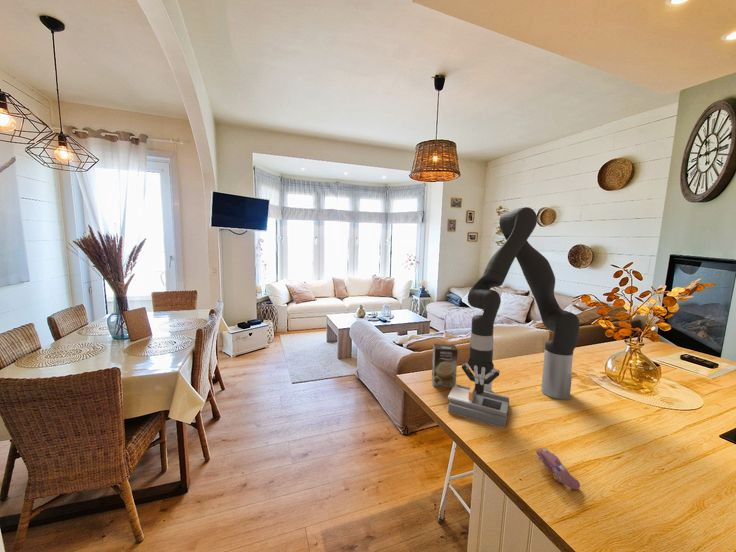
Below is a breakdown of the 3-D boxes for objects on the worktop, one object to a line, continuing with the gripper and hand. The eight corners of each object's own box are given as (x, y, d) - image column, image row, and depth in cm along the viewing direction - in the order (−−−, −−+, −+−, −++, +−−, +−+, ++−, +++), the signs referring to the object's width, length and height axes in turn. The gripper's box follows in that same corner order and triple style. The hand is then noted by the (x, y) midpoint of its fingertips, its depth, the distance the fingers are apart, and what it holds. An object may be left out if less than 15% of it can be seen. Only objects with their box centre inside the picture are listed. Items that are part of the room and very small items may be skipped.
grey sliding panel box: (508, 405, 108) (509, 394, 107) (504, 428, 95) (505, 416, 94) (458, 392, 116) (458, 382, 116) (448, 412, 103) (448, 400, 103)
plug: (491, 390, 118) (493, 366, 117) (490, 395, 115) (491, 370, 114) (479, 387, 120) (481, 364, 119) (478, 392, 117) (479, 367, 116)
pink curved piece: (539, 467, 81) (530, 446, 80) (553, 459, 81) (545, 438, 80) (567, 498, 71) (557, 475, 70) (583, 489, 71) (573, 466, 70)
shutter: (475, 393, 110) (476, 383, 110) (471, 405, 102) (471, 394, 102) (453, 387, 114) (454, 378, 113) (447, 398, 106) (448, 388, 106)
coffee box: (433, 386, 121) (434, 348, 119) (431, 379, 127) (432, 343, 125) (456, 388, 120) (457, 349, 118) (453, 380, 126) (454, 344, 124)
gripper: (503, 345, 103) (500, 393, 105) (464, 339, 109) (462, 384, 111) (501, 353, 96) (498, 403, 98) (459, 345, 103) (457, 393, 105)
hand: (479, 393), depth 105 cm, fingers closed
